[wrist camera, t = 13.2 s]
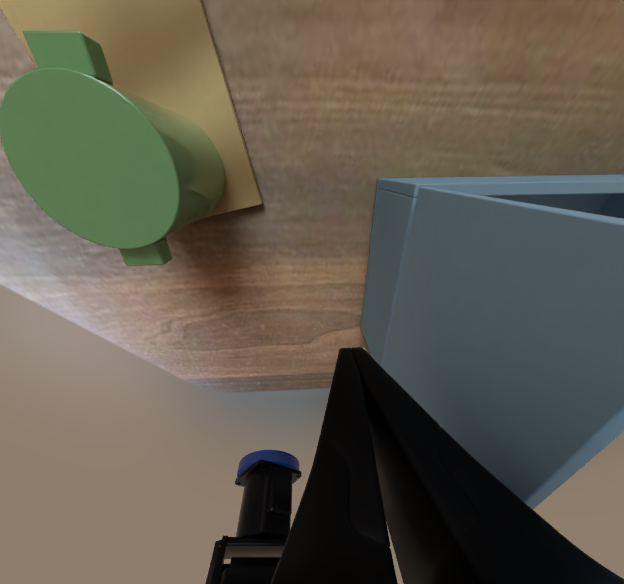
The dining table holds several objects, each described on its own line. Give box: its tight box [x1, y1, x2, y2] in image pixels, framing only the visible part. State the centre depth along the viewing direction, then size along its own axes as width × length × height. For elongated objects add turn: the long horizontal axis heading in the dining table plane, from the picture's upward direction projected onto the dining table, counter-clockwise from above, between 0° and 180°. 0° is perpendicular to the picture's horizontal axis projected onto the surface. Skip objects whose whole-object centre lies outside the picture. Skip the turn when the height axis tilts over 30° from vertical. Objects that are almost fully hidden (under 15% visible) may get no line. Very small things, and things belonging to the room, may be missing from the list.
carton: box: [361, 175, 624, 368], centre depth 14 cm, size 15×11×5 cm
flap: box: [383, 187, 624, 510], centre depth 8 cm, size 7×11×1 cm
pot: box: [0, 30, 225, 266], centre depth 10 cm, size 7×5×6 cm
